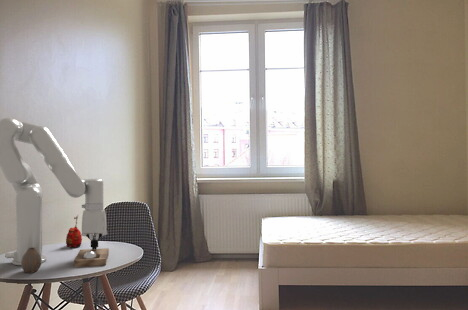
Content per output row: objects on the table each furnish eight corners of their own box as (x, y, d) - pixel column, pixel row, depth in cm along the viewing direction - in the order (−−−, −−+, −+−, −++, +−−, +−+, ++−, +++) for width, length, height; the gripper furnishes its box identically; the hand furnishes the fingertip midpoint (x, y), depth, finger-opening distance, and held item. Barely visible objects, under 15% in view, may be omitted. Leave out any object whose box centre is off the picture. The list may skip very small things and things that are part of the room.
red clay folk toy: (62, 247, 192) (62, 215, 192) (74, 244, 198) (74, 213, 198) (74, 248, 188) (74, 217, 188) (85, 245, 195) (85, 214, 195)
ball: (80, 261, 165) (92, 265, 167) (82, 261, 161) (94, 264, 163) (84, 249, 167) (96, 253, 169) (87, 249, 163) (99, 252, 165)
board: (74, 267, 159) (74, 260, 159) (80, 255, 177) (80, 249, 177) (105, 265, 162) (105, 258, 162) (108, 253, 180) (108, 248, 180)
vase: (33, 274, 150) (33, 251, 150) (17, 273, 151) (17, 249, 151) (45, 269, 157) (45, 246, 157) (29, 267, 158) (29, 245, 158)
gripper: (74, 208, 171) (74, 251, 171) (111, 207, 174) (111, 250, 174) (77, 206, 178) (77, 247, 179) (112, 205, 181) (112, 246, 182)
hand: (94, 248), depth 177 cm, fingers closed
